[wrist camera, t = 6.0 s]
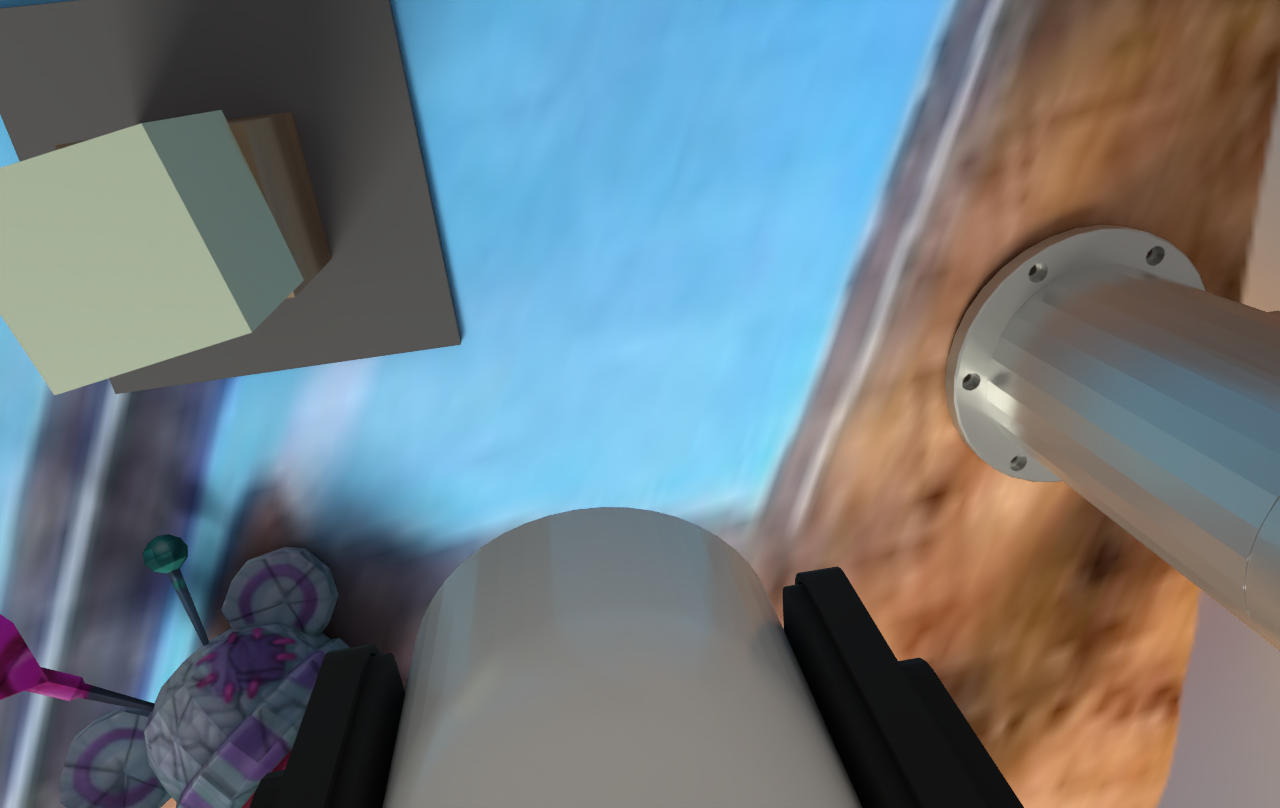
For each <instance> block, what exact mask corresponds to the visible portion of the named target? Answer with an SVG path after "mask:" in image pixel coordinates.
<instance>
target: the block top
mask: <svg viewBox="0 0 1280 808" xmlns="http://www.w3.org/2000/svg"><path fill="white" fill-rule="evenodd" d="M303 281H304V279H303V277H302V275H301V273H300V271H299V269H298V267H297V265H296V263H295V261H294V259H293V256H292V254H291V252H290V250H289V248H288V246H287V244H286V242H285V240H284V238H283V236H282V234H281V232H280V230H279V228H278V226H277V223H276V221H275V219H274V217H273V215H272V213H271V211H270V209H269V207H268V205H267V203H266V201H265V199H264V197H263V195H262V192H261V190H260V188H259V186H258V184H257V182H256V180H255V178H254V176H253V174H252V172H251V170H250V168H249V166H248V164H247V161H246V159H245V157H244V155H243V153H242V151H241V149H240V147H239V145H238V143H237V141H236V139H235V137H234V135H233V133H232V130H231V128H230V126H229V124H228V122H227V120H226V118H225V116H224V114H223V112H222V110H218V111H212V112H206V113H200V114H194V115H188V116H182V117H176V118H170V119H164V120H158V121H152V122H146V123H141V124H138V125H135V126H131V127H128V128H125V129H122V130H119V131H116V132H112V133H109V134H106V135H103V136H100V137H97V138H93V139H90V140H87V141H84V142H81V143H78V144H74V145H71V146H68V147H65V148H62V149H59V150H55V151H52V152H49V153H46V154H43V155H40V156H36V157H33V158H30V159H27V160H24V161H21V162H17V163H14V164H11V165H8V166H5V167H2V168H0V315H1V316H2V318H3V319H4V321H5V322H6V324H7V325H8V327H9V328H10V330H11V331H12V333H13V334H14V336H15V337H16V339H17V340H18V342H19V343H20V345H21V346H22V348H23V349H24V351H25V352H26V354H27V355H28V357H29V358H30V360H31V361H32V363H33V364H34V366H35V367H36V369H37V370H38V372H39V373H40V374H41V376H42V377H43V379H44V380H45V382H46V383H47V385H48V386H49V388H50V389H51V391H52V392H53V394H54V395H57V394H60V393H64V392H67V391H70V390H73V389H76V388H79V387H82V386H86V385H89V384H92V383H95V382H98V381H101V380H104V379H108V378H111V377H114V376H117V375H120V374H123V373H126V372H130V371H133V370H136V369H139V368H142V367H145V366H148V365H152V364H155V363H158V362H161V361H164V360H167V359H170V358H174V357H177V356H180V355H183V354H186V353H189V352H192V351H196V350H199V349H202V348H205V347H208V346H211V345H214V344H218V343H221V342H224V341H227V340H230V339H233V338H236V337H240V336H243V335H246V334H249V333H252V332H253V331H254V330H255V329H256V328H257V327H258V326H259V325H260V324H261V323H262V322H263V321H264V320H265V319H266V318H267V317H268V316H269V315H270V314H271V313H272V312H273V311H274V310H275V309H276V308H277V307H278V306H279V305H280V304H281V303H282V302H283V301H284V300H285V299H286V298H287V297H288V296H289V295H290V294H291V293H292V292H293V291H294V290H295V289H296V288H297V287H298V286H299V285H300V284H301V283H302V282H303Z"/></svg>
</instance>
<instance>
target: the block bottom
mask: <svg viewBox="0 0 1280 808" xmlns="http://www.w3.org/2000/svg"><path fill="white" fill-rule="evenodd" d="M227 122H228V124H229V126H230V128H231V130H232V133H233V135H234V137H235V139H236V141H237V143H238V145H239V147H240V149H241V151H242V153H243V155H244V157H245V159H246V161H247V164H248V166H249V168H250V170H251V172H252V174H253V176H254V178H255V180H256V182H257V184H258V186H259V188H260V190H261V192H262V195H263V197H264V199H265V201H266V203H267V205H268V207H269V209H270V211H271V213H272V215H273V217H274V219H275V221H276V223H277V226H278V228H279V230H280V232H281V234H282V236H283V238H284V240H285V242H286V244H287V246H288V248H289V250H290V252H291V254H292V256H293V259H294V261H295V263H296V265H297V267H298V269H299V271H300V273H301V275H302V277H303V279H304V281H303V282H302V283H301V284H300V285H299V286H298V287H297V288H296V289H295V290H294V291H293V292H292V293H291V294H290V295H289V296H288V297H287V298H293V297H296V296H297V295H298V294H299V292H300V291H301V290H302V289H303V288H304V287H305V286H306V285H307V284H308V283H309V282H310V281H311V280H312V279H313V278H314V277H315V276H316V275H317V274H318V273H319V272H320V271H321V270H322V269H323V268H324V266H325V265H326V264H327V263H328V262H329V261H330V260H331V255H330V252H329V248H328V244H327V241H326V237H325V233H324V229H323V226H322V222H321V218H320V215H319V211H318V207H317V203H316V200H315V196H314V192H313V189H312V185H311V181H310V177H309V174H308V170H307V166H306V163H305V159H304V155H303V151H302V148H301V144H300V140H299V137H298V133H297V129H296V125H295V122H294V118H293V114H292V112H287V113H279V114H270V115H262V116H254V117H245V118H237V119H228V120H227ZM92 139H93V138H92ZM87 140H90V139H86V140H81V141H76V142H70V143H65V144H59V145H55V148H56V150H59V149H62V148H65V147H68V146H71V145H74V144H78V143H81V142H84V141H87Z"/></svg>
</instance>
